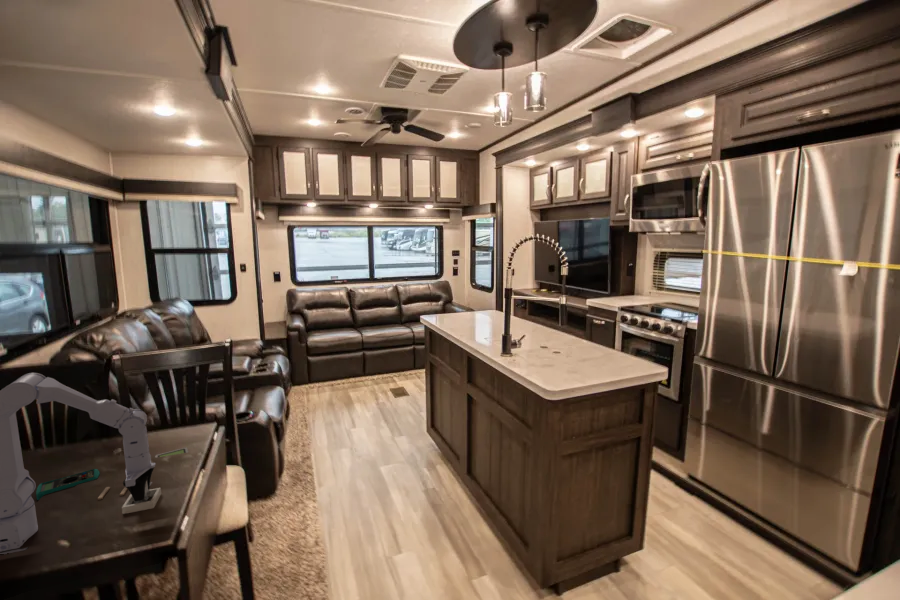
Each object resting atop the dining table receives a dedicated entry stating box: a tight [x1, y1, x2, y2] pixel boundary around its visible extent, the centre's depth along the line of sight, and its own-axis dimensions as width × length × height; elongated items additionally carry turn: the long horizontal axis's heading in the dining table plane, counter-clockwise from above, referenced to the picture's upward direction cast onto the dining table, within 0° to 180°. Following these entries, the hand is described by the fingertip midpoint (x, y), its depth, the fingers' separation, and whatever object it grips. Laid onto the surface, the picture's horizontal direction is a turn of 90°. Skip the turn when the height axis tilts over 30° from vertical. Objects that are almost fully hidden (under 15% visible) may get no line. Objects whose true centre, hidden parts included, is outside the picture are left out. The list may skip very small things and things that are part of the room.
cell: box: [133, 481, 150, 504], centre depth 119 cm, size 4×4×6 cm
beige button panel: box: [97, 481, 153, 501], centre depth 126 cm, size 11×14×2 cm
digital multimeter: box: [35, 468, 101, 501], centre depth 131 cm, size 7×15×3 cm, turn 131°
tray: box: [121, 487, 162, 515], centre depth 119 cm, size 7×7×4 cm
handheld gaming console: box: [154, 447, 189, 459], centre depth 146 cm, size 10×2×15 cm
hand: (141, 495), depth 119 cm, fingers closed on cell, 4 cm apart
